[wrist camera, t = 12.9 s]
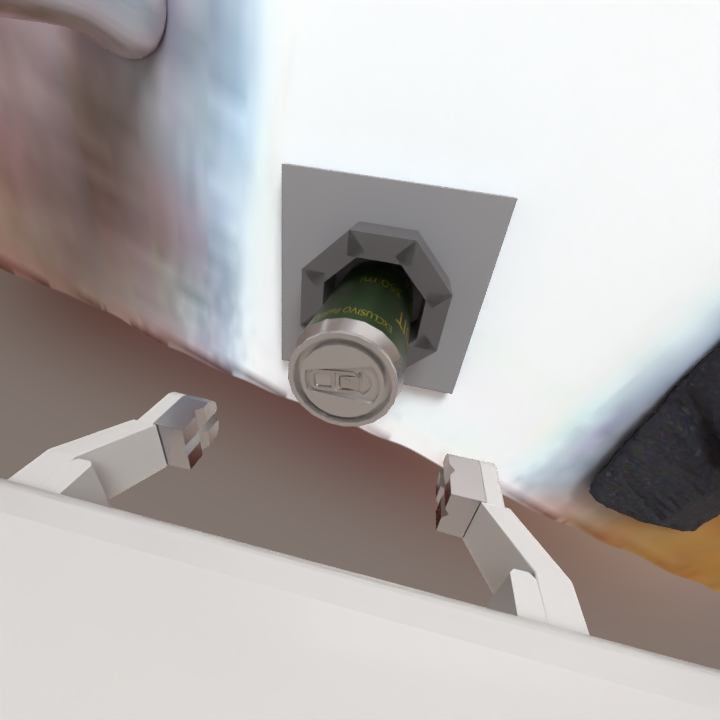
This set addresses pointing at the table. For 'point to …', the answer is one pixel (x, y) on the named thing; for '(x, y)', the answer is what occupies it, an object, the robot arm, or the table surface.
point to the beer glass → (100, 21)
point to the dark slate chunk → (671, 458)
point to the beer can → (355, 347)
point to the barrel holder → (392, 256)
